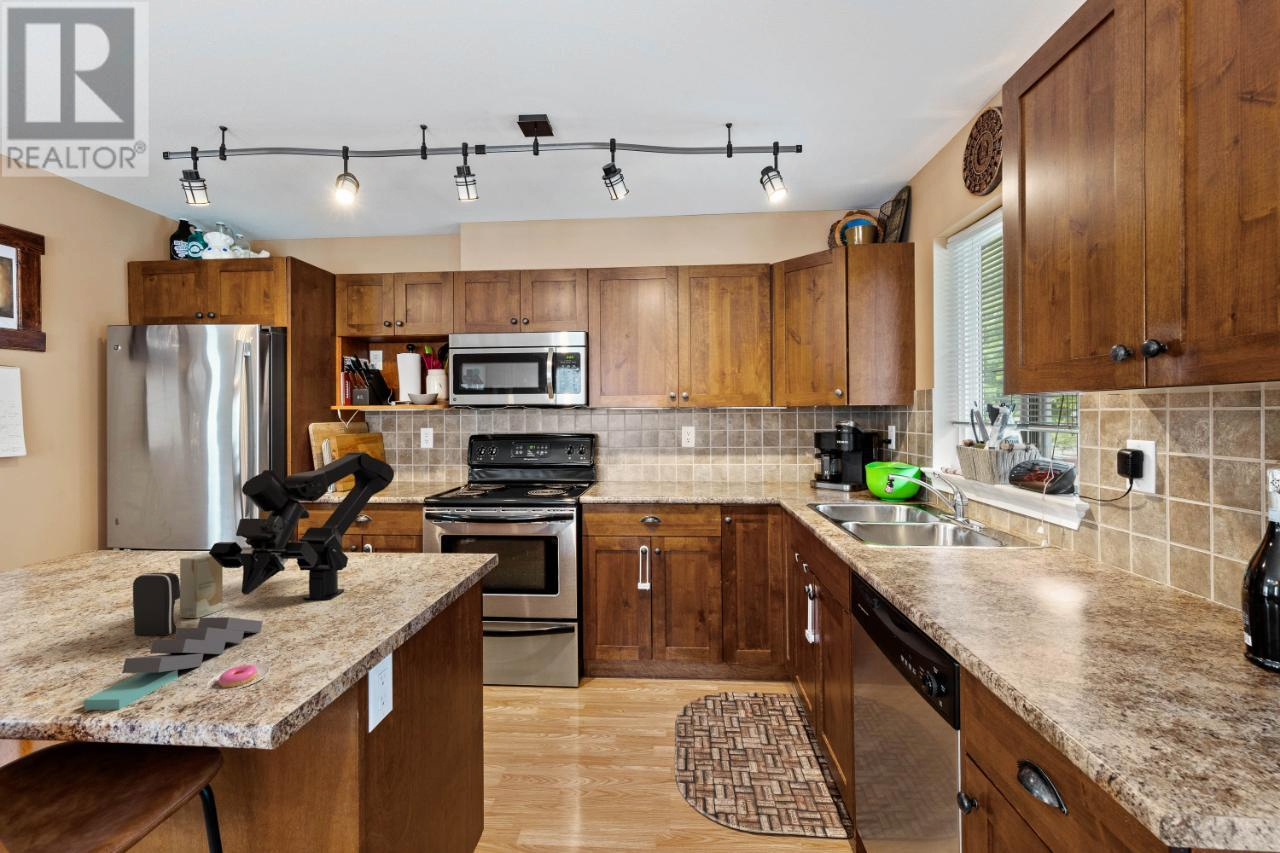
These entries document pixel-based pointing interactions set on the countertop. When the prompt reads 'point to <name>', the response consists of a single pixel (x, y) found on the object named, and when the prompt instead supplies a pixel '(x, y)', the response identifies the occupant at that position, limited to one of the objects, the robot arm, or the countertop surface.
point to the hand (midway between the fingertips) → (244, 593)
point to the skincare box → (200, 586)
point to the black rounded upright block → (155, 603)
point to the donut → (241, 675)
